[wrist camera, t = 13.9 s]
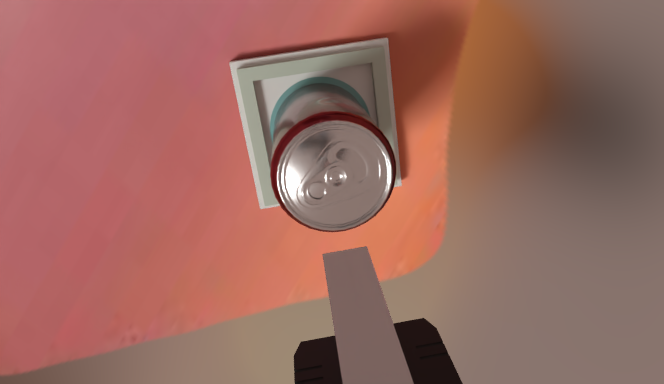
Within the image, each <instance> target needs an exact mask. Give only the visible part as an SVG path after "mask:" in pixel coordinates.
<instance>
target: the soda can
mask: <svg viewBox="0 0 664 384" xmlns="http://www.w3.org/2000/svg"><path fill="white" fill-rule="evenodd" d="M270 178H271V186H272V189H273V192H274V195H275V198H276V199H277V201H278V203H279V204H280V206H281V208H282V209H283V210H284V211H285V212H286V213H287V214H288V215H289V216H290V217H291V218H292V219H294V220H295V221H296V222H298V223H300V224H302V225H304V226H306V227H308V228H310V229H314V230H318V231H323V232H340V231H346V230H350V229H353V228H356V227H358V226H360V225H362V224H364V223H366V222H368V221H369V220H370V219H372V218H373V217H374V216H376V215H377V213H378V212H379V211H380V210H381V209H382V208H383V207H384V205H385V204H386V202H387V201H388V199H389V198H390V195H391V193H392V190H393V188H394V185H395V180H396V160H395V155H394V151H393V149H392V147H391V145H390V143H389V140H388V139H387V138H386V136H385V135H384V134H383V132H382V131H381V130H380V129H379V127H378V126H377V125H376V123H375V122H374V121H373V120H372V118H371V117H370V116H369V114H368V113H367V112H366V111H365V109H364V108H363V107H362V105H361V104H360V103H359V102H358V100H357V99H356V98H355V97H354V96H353V95H352V94H351V93H350V92H348V91H347V90H345V89H343V88H342V87H339V86H336V85H333V84H328V83H314V84H309V85H306V86H303V87H301V88H299V89H297V90H295V91H294V92H293V93H291V94H290V95H289V96H288V97H287V98H286V99H285V100H284V102H283V103H282V104H281V106H280V108H279V110H278V111H277V114H276V118H275V122H274V133H273V145H272V158H271V170H270Z"/></svg>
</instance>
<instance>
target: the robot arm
mask: <svg viewBox="0 0 664 384" xmlns="http://www.w3.org/2000/svg"><path fill="white" fill-rule="evenodd" d="M323 260H324V267H325V273H326V280H327V286H328V292H329V299H330V305H331V311H332V317H333V324H334V331H335V336H330V337H325V338H319V339H314V340H309V341H303V342H301V343H300V345H299V347H298V349H297V351H296V353H295V355H294V371H295V373H294V374H295V384H462V382H461V380H460V378H459V375H458V373H457V371H456V369H455V367H454V365H453V362H452V360H451V358H450V356H449V355H448V352H447V350H446V348H445V345H444V344H443V341H442V339H441V337H440V335H439V333H438V331H437V328H435V327H434V326H433V325H432V324H431V323H429V322H428V321H427V320H426V319H424V318H422V319H416V320H410V321H405V322H400V323H395V324H393V322H392V319H391V316H390V313H389V310H388V307H387V304H386V301H385V299H384V295H383V292H382V290H381V287H380V284H379V281H378V278H377V275H376V272H375V269H374V266H373V263H372V260H371V257H370V255H369V252H368V249H367V246H365V247H360V248H354V249H348V250H343V251H337V252H332V253H326V254H323Z"/></svg>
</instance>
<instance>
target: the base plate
mask: <svg viewBox="0 0 664 384" xmlns="http://www.w3.org/2000/svg"><path fill="white" fill-rule="evenodd" d="M229 64H230V68H231V73H232V78H233V83H234V87H235V92H236V97H237V101H238V106H239V111H240V115H241V120H242V125H243V130H244V134H245V139H246V144H247V148H248V153H249V158H250V163H251V167H252V172H253V177H254V181H255V186H256V191H257V196H258V200H259V205H260V209H264V208H270V207H276V206H280V204H279V203H278V201H277V199H276V198H275V195H274V192H273V189H272V186H271V178H270V170H271V158H272V145H273V133H274V122H275V118H276V114H277V111H278V110H279V108H280V106H281V104H282V103H283V102H284V100H285V99H286V98H287V97H288V96H289V95H290V94H291V93H293V92H294V91H295V90H297V89H299V88H301V87H303V86H306V85H309V84H314V83H328V84H333V85H336V86H339V87H342V88H343V89H345V90H347V91H348V92H350V93H351V94H352V95H353V96H354V97H355V98H356V99H357V100H358V102H359V103H360V104H361V105H362V107H363V108H364V109H365V111H366V112H367V113H368V114H369V116H370V117H371V118H372V120H373V121H374V122H375V123H376V125H377V126H378V127H379V129H380V130H381V131H382V132H383V134H384V135H385V136H386V138H387V139H388V140H389V143H390V145H391V147H392V149H393V151H394V155H395V160H396V180H395V185H394V187H397V186H402V184H401V173H400V162H399V151H398V141H397V130H396V119H395V108H394V97H393V87H392V76H391V65H390V54H389V43H388V38H386V37H384V38H377V39H371V40H364V41H358V42H351V43H345V44H338V45H332V46H325V47H319V48H312V49H306V50H299V51H293V52H286V53H280V54H273V55H267V56H260V57H254V58H247V59H241V60H234V61H230V62H229Z"/></svg>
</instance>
